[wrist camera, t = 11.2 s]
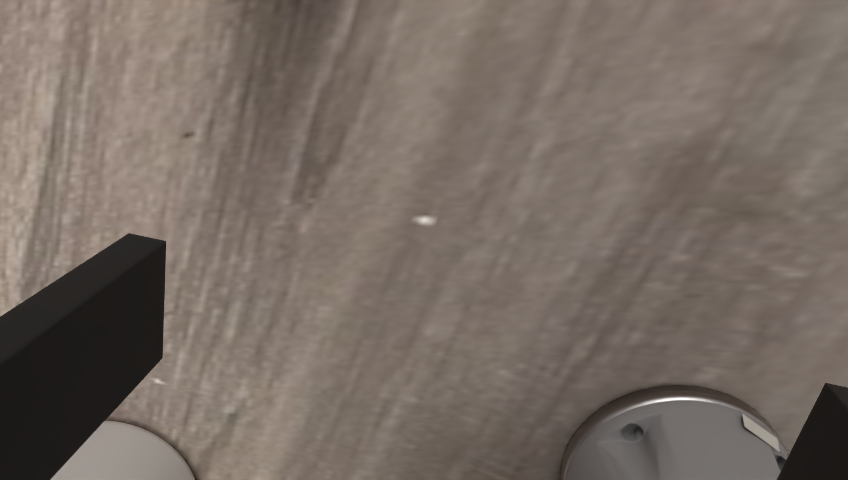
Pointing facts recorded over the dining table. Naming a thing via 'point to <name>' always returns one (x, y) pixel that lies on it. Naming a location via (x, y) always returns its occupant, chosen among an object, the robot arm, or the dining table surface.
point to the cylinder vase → (124, 457)
